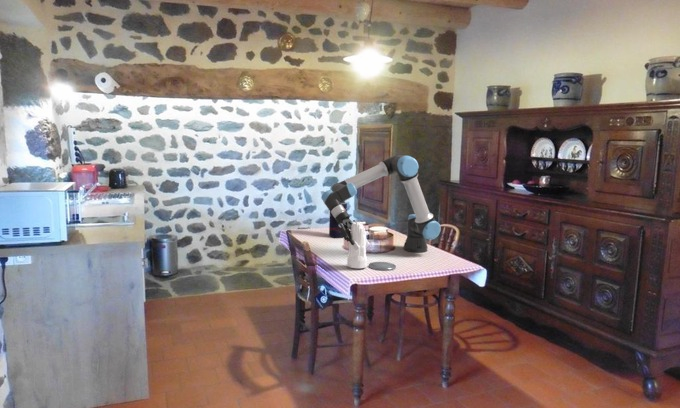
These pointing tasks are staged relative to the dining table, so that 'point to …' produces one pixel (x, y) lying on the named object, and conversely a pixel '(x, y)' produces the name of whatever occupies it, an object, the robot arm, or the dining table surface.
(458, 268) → the dining table surface
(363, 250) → the decorative vase
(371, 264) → the disc
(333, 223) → the black thermos flask
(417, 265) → the dining table surface
